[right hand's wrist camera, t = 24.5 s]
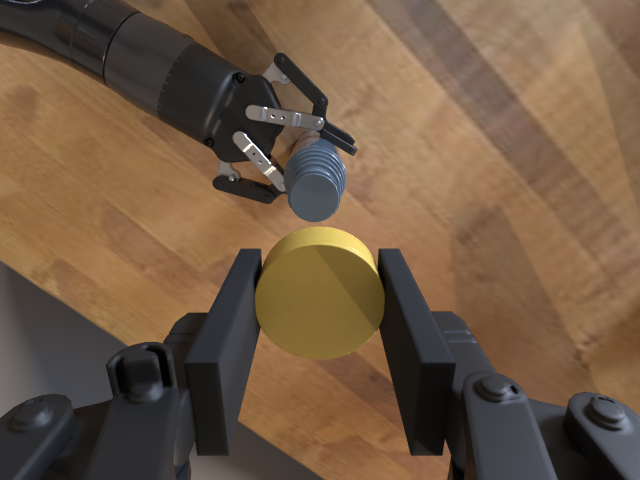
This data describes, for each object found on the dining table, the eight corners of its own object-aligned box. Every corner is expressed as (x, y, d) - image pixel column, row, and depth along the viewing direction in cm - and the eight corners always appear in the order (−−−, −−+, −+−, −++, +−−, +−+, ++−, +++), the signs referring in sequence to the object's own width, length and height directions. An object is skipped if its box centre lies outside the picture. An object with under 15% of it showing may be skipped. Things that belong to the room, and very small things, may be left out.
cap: (240, 299, 15) (231, 325, 13) (297, 203, 14) (295, 219, 12) (338, 348, 16) (340, 378, 14) (401, 263, 15) (412, 285, 13)
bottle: (332, 124, 42) (342, 151, 24) (342, 168, 44) (359, 224, 26) (288, 136, 43) (265, 171, 24) (300, 179, 44) (287, 242, 26)
